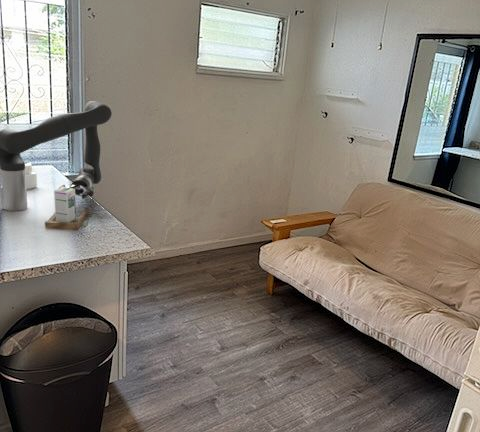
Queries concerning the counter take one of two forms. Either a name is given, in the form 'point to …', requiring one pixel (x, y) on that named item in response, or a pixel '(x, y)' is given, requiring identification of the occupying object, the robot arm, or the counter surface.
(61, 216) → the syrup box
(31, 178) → the medicine bottle
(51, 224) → the open wooden frame
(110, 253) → the counter surface
